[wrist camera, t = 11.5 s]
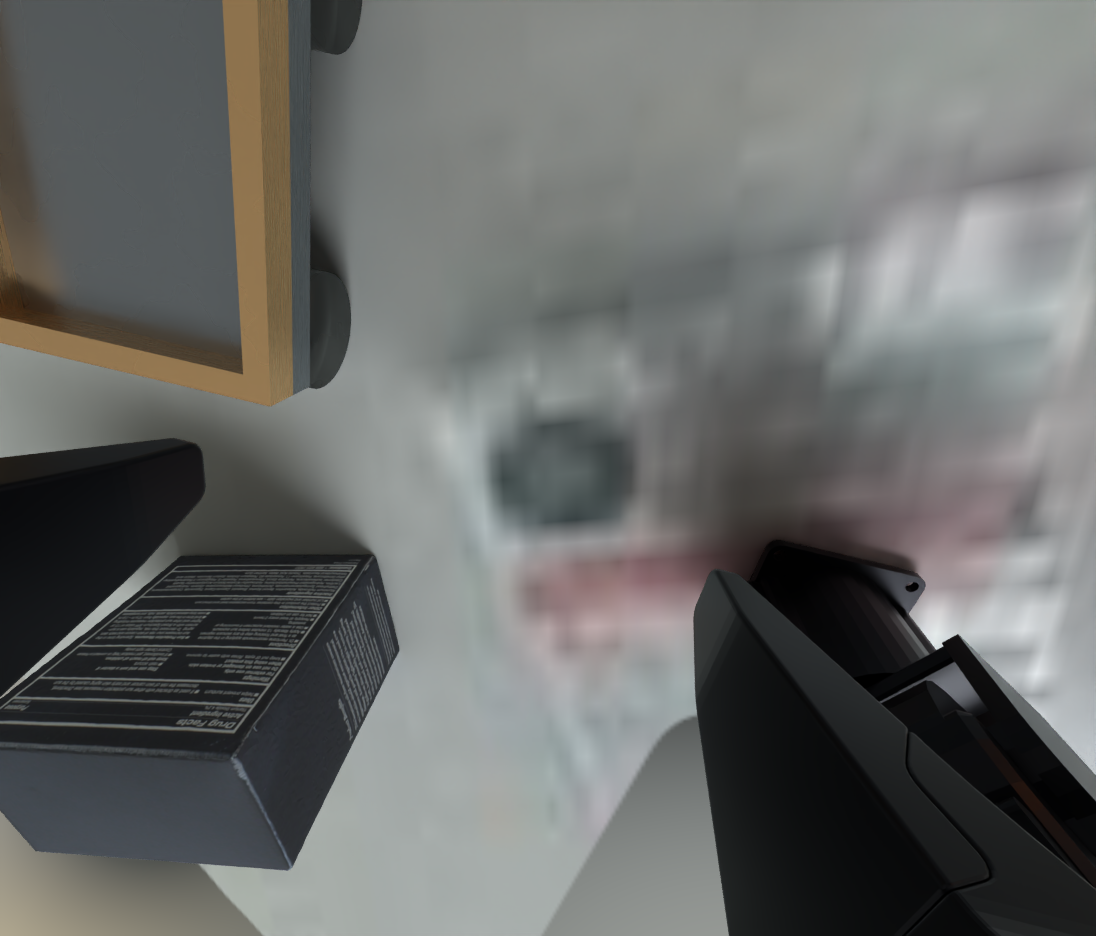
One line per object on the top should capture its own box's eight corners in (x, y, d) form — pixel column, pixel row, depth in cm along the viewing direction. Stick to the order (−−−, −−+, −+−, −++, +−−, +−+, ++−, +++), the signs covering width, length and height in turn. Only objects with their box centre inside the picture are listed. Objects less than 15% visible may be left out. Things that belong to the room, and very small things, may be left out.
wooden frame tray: (376, -97, 15) (248, -273, 10) (356, 374, 21) (270, 421, 16) (54, -166, 15) (-241, -375, 10) (127, 321, 21) (-32, 350, 16)
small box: (222, 652, 28) (26, 861, 19) (178, 552, 26) (-76, 738, 16) (404, 656, 27) (291, 886, 18) (377, 551, 24) (226, 754, 15)
